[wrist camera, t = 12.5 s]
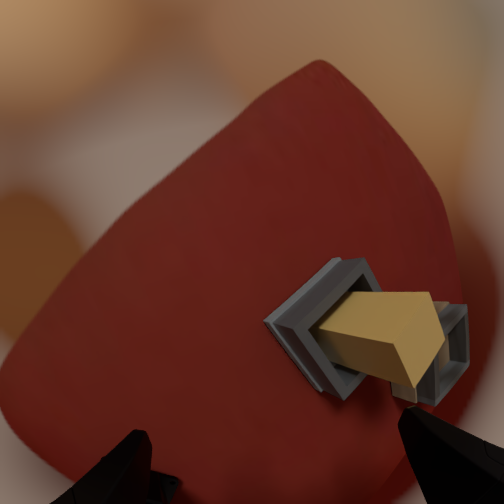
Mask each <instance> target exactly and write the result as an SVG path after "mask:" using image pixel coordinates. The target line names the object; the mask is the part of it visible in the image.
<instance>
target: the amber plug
mask: <svg viewBox="0 0 504 504" xmlns="http://www.w3.org/2000/svg"><path fill="white" fill-rule="evenodd" d="M308 331H309V332H310V334H311V335H312V337H313V338H314V339H315V341H316V342H317V344H318V345H319V347H320V348H321V350H322V351H323V353H324V354H325V355H326V357H327V358H328V360H329V361H332V362H334V363H337V364H340V365H343V366H346V367H348V368H351V369H354V370H357V371H360V372H363V373H366V374H369V375H372V376H375V377H378V378H381V379H384V380H387V381H390V382H394V383H397V384H400V385H403V386H407V387H410V388H415V386H416V385H417V384H418V382H419V381H420V379H421V378H422V376H423V375H424V373H425V372H426V370H427V369H428V367H429V366H430V364H431V362H432V361H433V359H434V358H435V356H436V354H437V353H438V351H439V349H440V348H441V346H442V344H443V342H444V341H445V337H444V334H443V330H442V327H441V324H440V321H439V319H438V316H437V313H436V310H435V307H434V304H433V302H432V299H431V297H430V294H429V292H345V293H344V294H343V295H342V296H341V297H340V298H339V299H338V300H337V301H336V302H335V303H334V304H333V305H332V306H331V307H330V308H329V309H328V310H327V311H326V312H325V313H324V314H323V315H322V316H321V317H320V318H319V319H318V320H317V321H316V322H315V323H314V324H313V325H312V326H311V327H310V328H309V329H308Z"/></svg>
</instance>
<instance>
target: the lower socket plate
mask: <svg viewBox="0 0 504 504" xmlns="http://www.w3.org/2000/svg"><path fill="white" fill-rule="evenodd" d="M345 292H382V290H381V288H380V286H379V284H378V282H377V280H376V278H375V277H374V275H373V273H372V271H371V269H370V267H369V265H368V264H367V262H366V260H365V258H356V259H349V260H341V258H340V257H338V258H332V259H331V260H330V261H329V262H328V263H327V264H326V265H325V266H324V267H323V268H322V269H321V270H320V271H318V272H317V273H316V274H315V275H314V276H313V277H312V278H311V279H310V280H309V281H308V282H307V283H305V284H304V285H303V286H302V287H301V288H300V289H299V290H298V291H297V292H295V293H294V294H293V295H292V296H291V297H290V298H289V299H288V300H286V301H285V302H284V303H283V304H282V305H281V306H280V307H278V308H277V309H276V310H275V311H274V312H273V313H272V314H270V315H269V316H268V317H267V318H266V319H265V320H263V321H264V323H265V324H266V325H267V327H268V328H269V329H270V331H271V332H272V333H273V335H274V336H275V337H276V339H277V340H278V341H279V343H280V344H281V345H282V347H283V348H284V349H285V351H286V352H287V353H288V355H289V356H290V357H291V359H292V360H293V361H294V363H295V364H296V365H297V367H298V368H299V369H300V370H301V372H302V373H303V374H304V376H305V377H306V378H307V380H308V381H309V382H310V383H311V385H312V386H313V387H314V389H316V390H318V391H320V392H322V391H323V390H324V391H326V392H328V393H330V394H332V395H334V396H336V397H338V398H340V399H342V400H345V399H346V398H347V397H348V396H349V395H350V394H351V393H352V392H353V390H354V389H355V388H356V387H357V386H358V385H359V384H360V383H361V381H362V380H363V379H364V378H365V377H366V376H367V375H368V374H366V373H363V372H360V371H357V370H354V369H351V368H348V367H346V366H343V365H340V364H337V363H334V362H332V361H329V360H328V358H327V357H326V355H325V354H324V353H323V351H322V350H321V348H320V347H319V345H318V344H317V342H316V341H315V339H314V338H313V337H312V335H311V334H310V332H309V331H308V329H309V328H310V327H311V326H312V325H313V324H314V323H315V322H316V321H317V320H318V319H319V318H320V317H321V316H322V315H323V314H324V313H325V312H326V311H327V310H328V309H329V308H330V307H331V306H332V305H333V304H334V303H335V302H336V301H337V300H338V299H339V298H340V297H341V296H342V295H343V294H344V293H345Z"/></svg>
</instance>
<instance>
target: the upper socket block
mask: <svg viewBox="0 0 504 504" xmlns="http://www.w3.org/2000/svg"><path fill="white" fill-rule="evenodd" d="M433 304H434V307H435V310H436V313H437V316H438V319H439V321H440V324H441V327H442V330H443V334H444V337H445V341H444V342H443V344H442V346H441V348H440V349H439V351H438V353H437V354H436V356H435V358H434V359H433V361H432V362H431V364H430V366H429V367H428V369H427V370H426V372H425V373H424V375H423V376H422V378H421V379H420V381H419V382H418V384H417V385H416V386H415V388H410V387H407V386H403V385H400V384H397V383H394V382H391V387H392V395H393V396H395V397H398V398H401V399H404V400H407V401H410V402H413V403H417V402H418V401H419V402H422V403H425V404H428V405H432V406H436V405H437V404H438V403H439V402H440V401H441V400H442V398H443V397H444V396H445V395H446V394H447V393H448V392H449V390H450V389H451V388H452V387H453V385H454V384H455V383H456V382H457V380H458V379H459V378H460V377H461V375H462V374H463V373H464V371H465V370H466V369H467V367H468V366H469V326H468V312H467V305H466V304H449V302H433Z"/></svg>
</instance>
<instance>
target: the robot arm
mask: <svg viewBox="0 0 504 504" xmlns="http://www.w3.org/2000/svg"><path fill="white" fill-rule="evenodd" d="M398 429H399V432H400V435H401V438H402V441H403V445H404V448H405V451H406V454H407V457H408V459H409V462H410V464H411V467H412V469H413V471H414V474H415V476H416V478H417V480H418V483H419V485H420V488H421V490H422V492H423V495H424V497H425V500H426V502H427V504H504V448H501V447H498V446H496V445H493V444H491V443H489V442H487V441H483V440H482V439H480V438H478V437H476V436H474V435H472V434H470V433H467V432H465V431H464V430H461V429H459V428H457V427H455V426H453V425H451V424H449V423H447V422H446V421H443V420H442V419H440V418H438V417H436V416H434V415H432V414H430V413H428V412H426V411H424V410H423V409H421V408H419V407H417V406H410V407H407V408H405V409H404V411H403V413H402V415H401V417H400V420H399V422H398ZM151 457H152V444H151V442H150V439H149V437H148V435H147V432H146V431H144V430H137V429H135V430H133V431H131V432H130V433H129V434H128V435H127V436H126V437H125V438H124V439H123V440H122V441H121V442H120V443H119V444H118V445H117V446H116V447H115V448H114V449H113V450H111V451H110V452H109V453H108V454H107V455H106V456H105V457H102V458H101V460H100V462H98V463H97V464H96V465H95V466H94V467H93V468H92V469H91V470H90V471H89V472H87V473H86V474H85V475H84V476H83V477H82V478H81V479H80V480H79V481H77V482H76V483H75V484H74V485H73V486H72V487H71V488H69V489H68V490H67V491H66V492H65V493H63V494H62V495H61V496H60V497H58V498H57V499H56V500H55V501H53V502H51V503H50V504H169V503H170V501H171V499H172V497H173V495H174V493H175V490H176V488H177V486H178V483H179V482H178V479H177V478H176V477H174V476H170V475H166V474H162V473H158V472H154V471H150V468H151ZM170 481H174V482H170Z"/></svg>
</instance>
